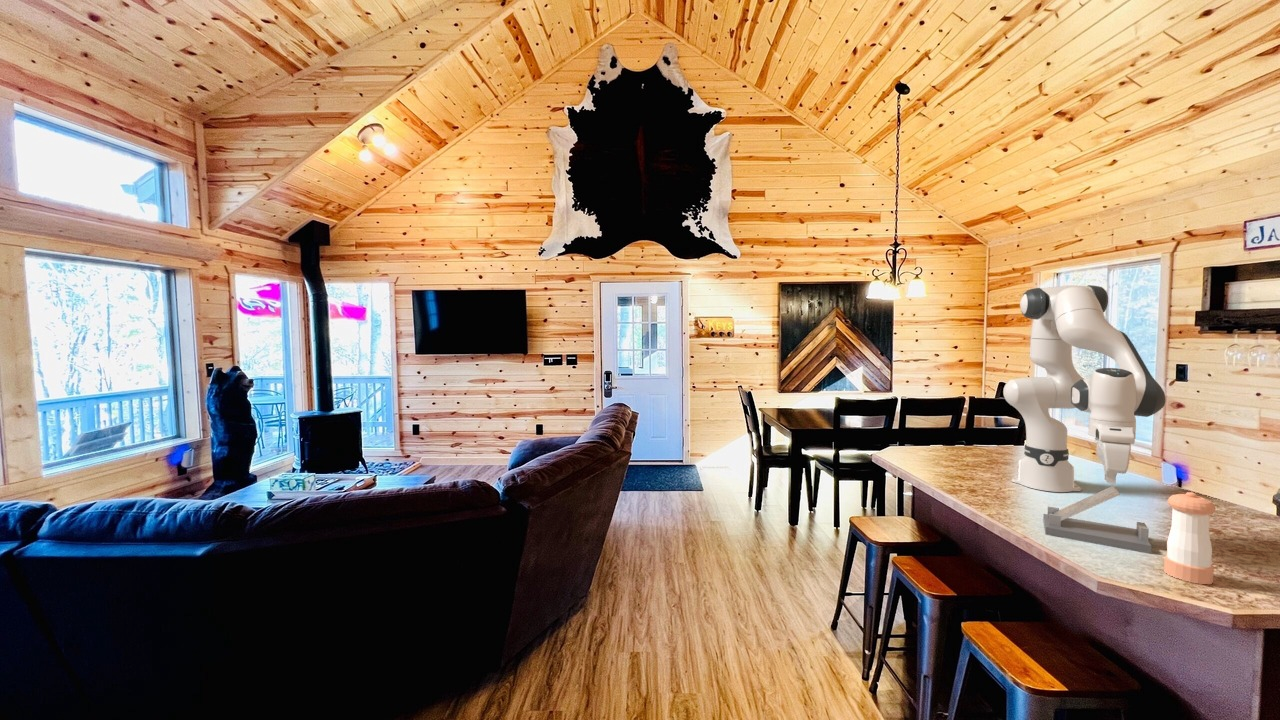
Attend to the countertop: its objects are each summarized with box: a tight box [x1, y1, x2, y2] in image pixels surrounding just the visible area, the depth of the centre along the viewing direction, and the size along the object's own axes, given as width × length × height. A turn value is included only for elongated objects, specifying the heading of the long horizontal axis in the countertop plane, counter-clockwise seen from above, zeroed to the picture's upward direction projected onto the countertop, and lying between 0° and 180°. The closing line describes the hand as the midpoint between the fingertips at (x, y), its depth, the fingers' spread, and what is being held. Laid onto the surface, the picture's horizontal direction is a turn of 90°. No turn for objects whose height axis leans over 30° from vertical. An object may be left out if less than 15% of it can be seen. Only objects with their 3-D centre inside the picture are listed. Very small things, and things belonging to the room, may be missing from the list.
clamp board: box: [1042, 505, 1152, 555], centre depth 129 cm, size 12×20×5 cm, turn 52°
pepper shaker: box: [1163, 491, 1216, 585], centre depth 107 cm, size 7×7×19 cm
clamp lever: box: [1050, 485, 1121, 521], centre depth 130 cm, size 5×17×2 cm
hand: (1110, 482), depth 127 cm, fingers closed
